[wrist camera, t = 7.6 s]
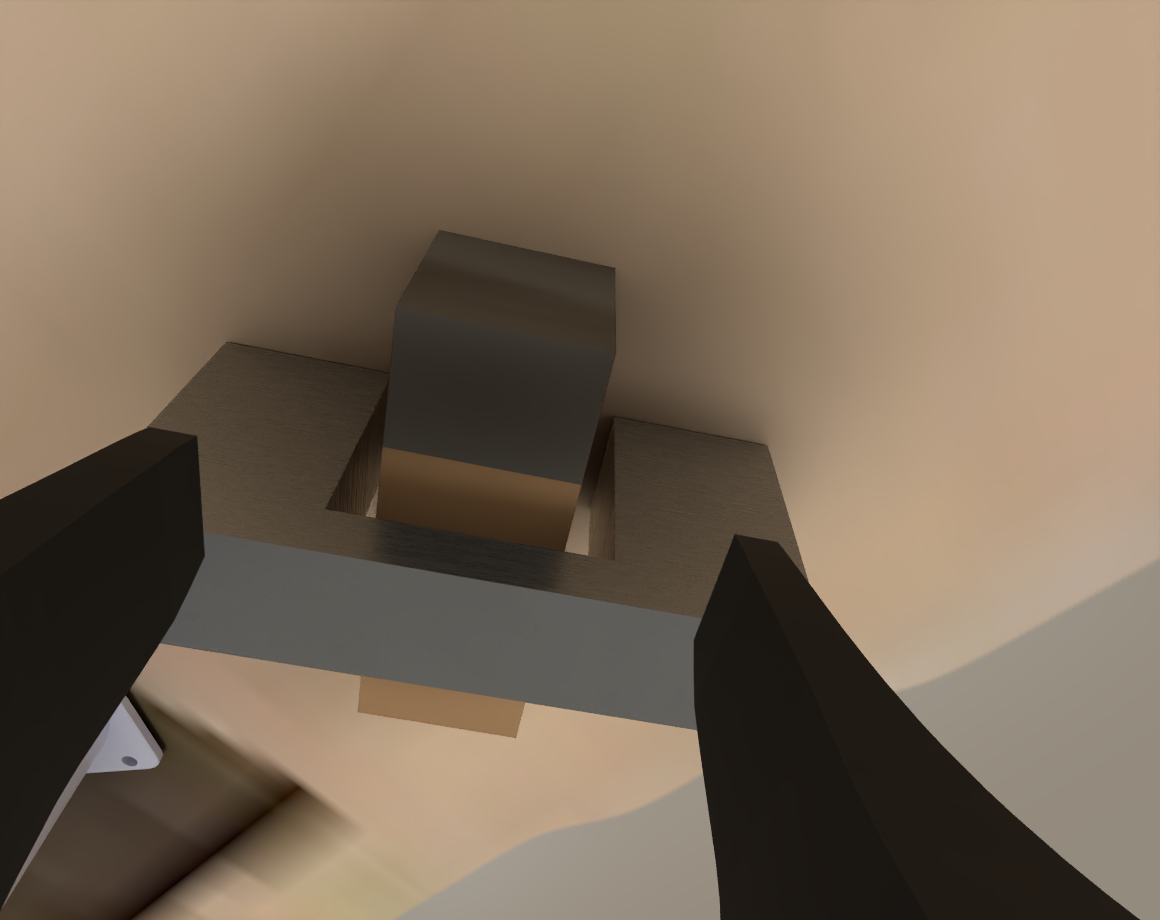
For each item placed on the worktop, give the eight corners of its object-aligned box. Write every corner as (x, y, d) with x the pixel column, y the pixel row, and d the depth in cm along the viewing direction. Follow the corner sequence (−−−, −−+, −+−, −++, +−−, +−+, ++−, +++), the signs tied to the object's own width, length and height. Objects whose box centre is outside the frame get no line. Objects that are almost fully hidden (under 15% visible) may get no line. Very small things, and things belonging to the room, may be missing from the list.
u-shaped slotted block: (732, 536, 23) (773, 742, 17) (230, 445, 21) (91, 632, 16) (767, 445, 21) (825, 640, 15) (226, 341, 20) (70, 509, 14)
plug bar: (530, 615, 25) (516, 737, 21) (396, 592, 24) (357, 711, 20) (614, 268, 19) (616, 352, 15) (439, 229, 18) (396, 307, 15)
